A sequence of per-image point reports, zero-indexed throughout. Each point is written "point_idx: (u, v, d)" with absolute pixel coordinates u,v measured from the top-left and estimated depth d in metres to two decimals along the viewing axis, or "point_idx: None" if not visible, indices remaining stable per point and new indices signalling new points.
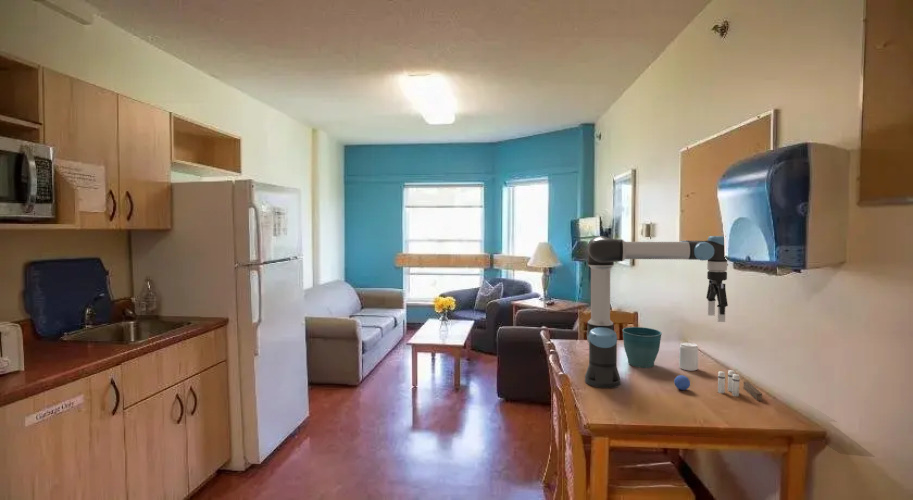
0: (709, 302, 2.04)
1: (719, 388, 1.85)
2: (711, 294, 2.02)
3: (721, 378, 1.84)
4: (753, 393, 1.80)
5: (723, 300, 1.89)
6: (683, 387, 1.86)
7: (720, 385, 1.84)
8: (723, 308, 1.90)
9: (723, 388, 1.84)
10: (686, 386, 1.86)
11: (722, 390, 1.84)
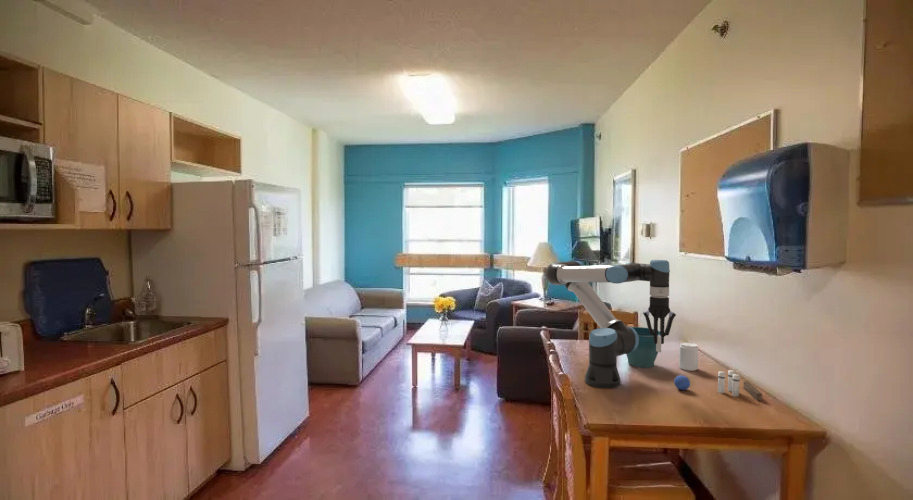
0: None
1: (719, 388, 1.85)
2: (660, 324, 1.90)
3: (721, 378, 1.84)
4: (753, 393, 1.80)
5: (648, 329, 1.91)
6: (683, 387, 1.86)
7: (720, 385, 1.84)
8: None
9: (723, 388, 1.84)
10: (686, 386, 1.86)
11: (722, 390, 1.84)
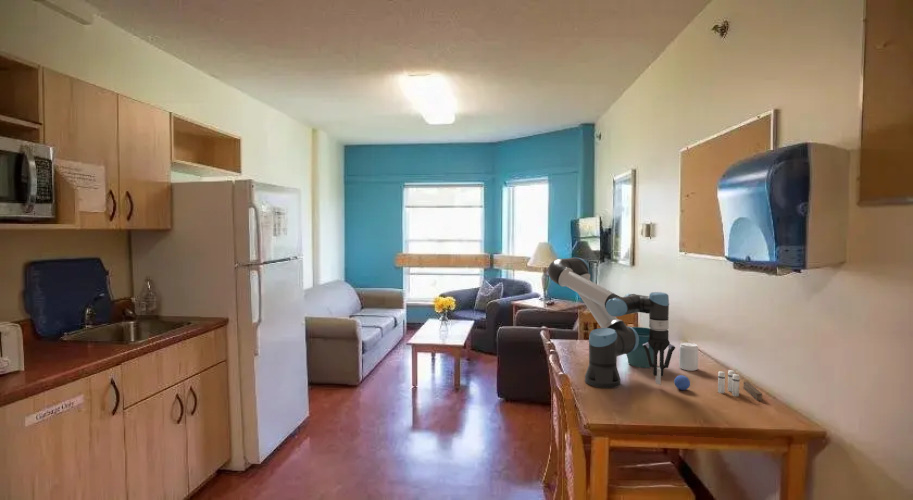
0: None
1: (719, 388, 1.85)
2: None
3: (721, 378, 1.84)
4: (753, 393, 1.80)
5: (648, 361, 1.92)
6: (683, 387, 1.86)
7: (720, 385, 1.84)
8: (653, 369, 1.91)
9: (723, 388, 1.84)
10: (686, 386, 1.86)
11: (722, 390, 1.84)
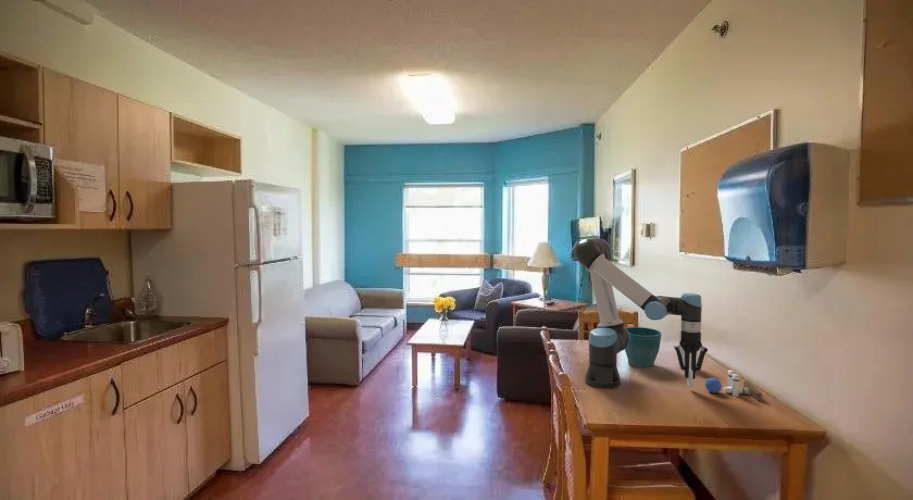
0: None
1: (730, 388, 1.84)
2: (691, 358, 1.88)
3: (743, 391, 1.83)
4: (753, 393, 1.80)
5: (679, 363, 1.89)
6: (717, 386, 1.83)
7: None
8: (685, 371, 1.88)
9: (731, 391, 1.84)
10: (713, 385, 1.83)
11: (729, 390, 1.84)
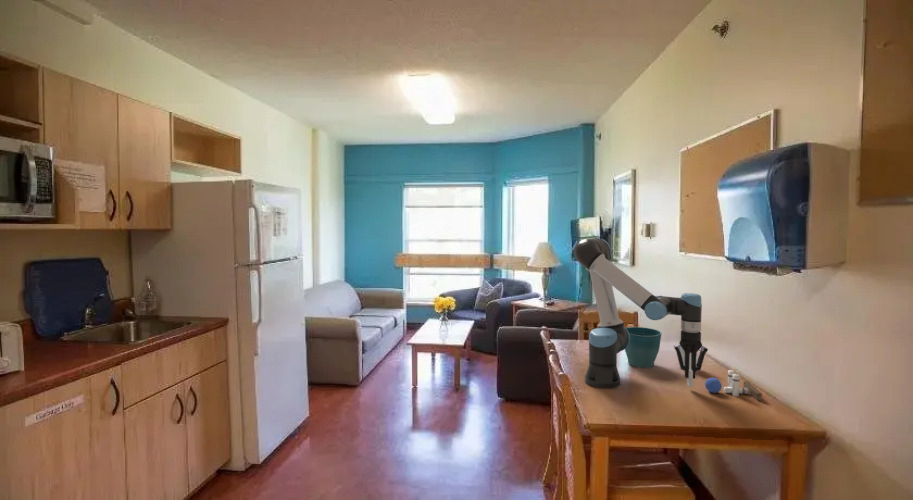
0: None
1: (730, 388, 1.84)
2: (691, 358, 1.88)
3: (743, 391, 1.83)
4: (753, 393, 1.80)
5: (679, 363, 1.89)
6: (717, 386, 1.83)
7: None
8: (685, 371, 1.88)
9: (731, 391, 1.84)
10: (713, 385, 1.83)
11: (729, 390, 1.84)
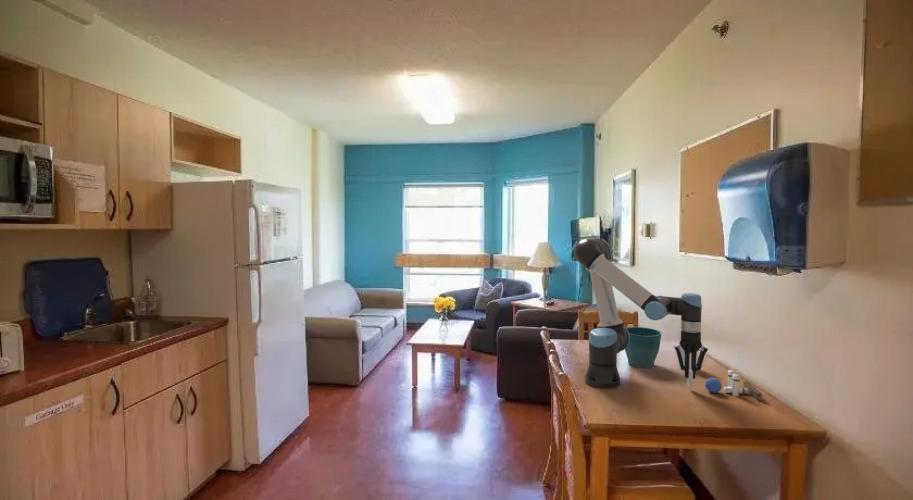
0: None
1: (730, 388, 1.84)
2: (691, 358, 1.88)
3: (743, 390, 1.83)
4: (753, 393, 1.80)
5: (679, 363, 1.89)
6: (717, 386, 1.83)
7: None
8: (685, 371, 1.88)
9: (731, 391, 1.84)
10: (713, 385, 1.83)
11: (729, 390, 1.84)
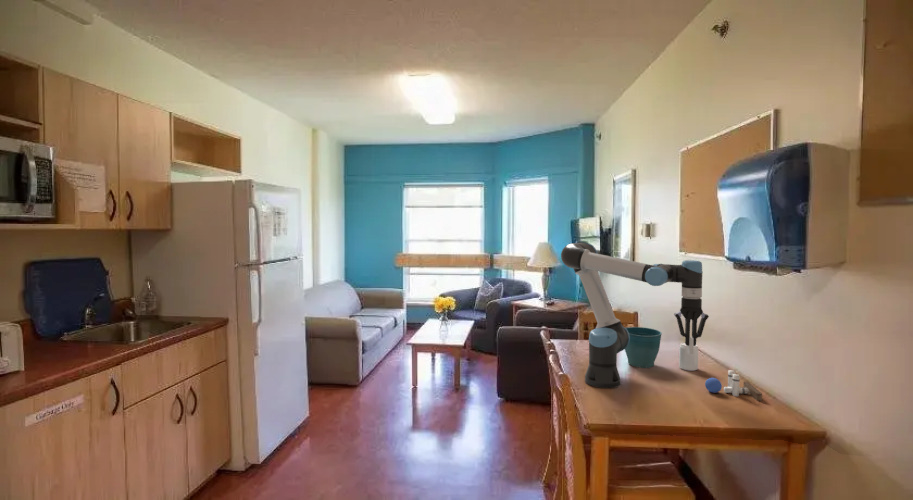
0: None
1: (730, 388, 1.84)
2: (692, 326, 1.87)
3: (743, 390, 1.83)
4: (753, 393, 1.80)
5: (680, 330, 1.88)
6: (717, 386, 1.83)
7: None
8: (685, 338, 1.87)
9: (731, 391, 1.84)
10: (713, 385, 1.83)
11: (729, 390, 1.84)
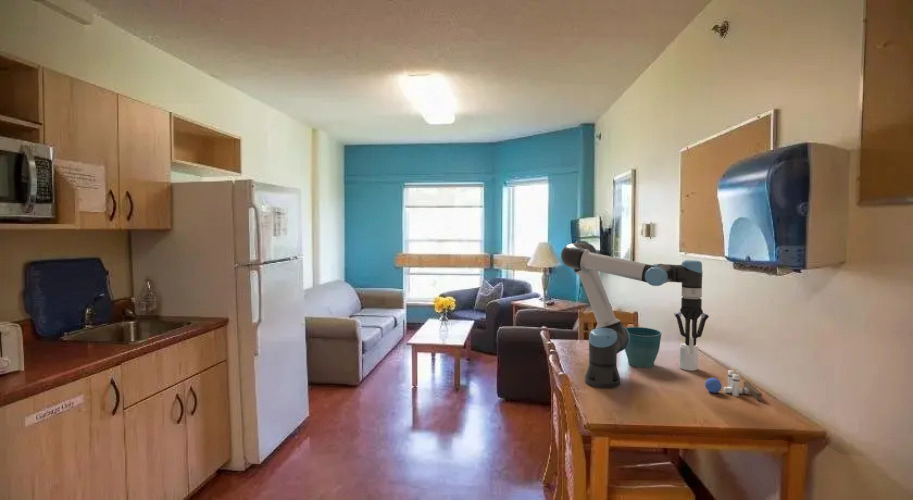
0: None
1: (730, 388, 1.84)
2: (692, 326, 1.87)
3: (743, 390, 1.83)
4: (753, 393, 1.80)
5: (680, 330, 1.88)
6: (717, 386, 1.83)
7: None
8: (685, 338, 1.87)
9: (731, 391, 1.84)
10: (713, 385, 1.83)
11: (729, 390, 1.84)
